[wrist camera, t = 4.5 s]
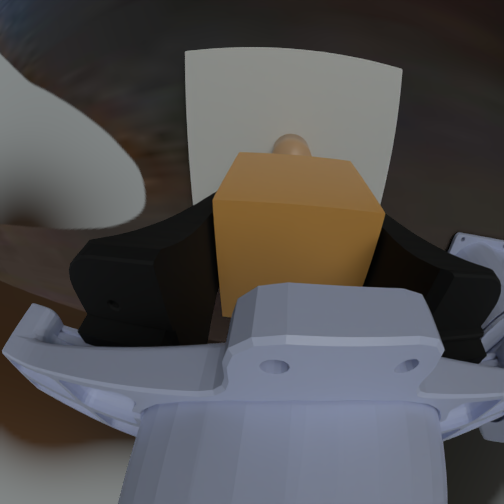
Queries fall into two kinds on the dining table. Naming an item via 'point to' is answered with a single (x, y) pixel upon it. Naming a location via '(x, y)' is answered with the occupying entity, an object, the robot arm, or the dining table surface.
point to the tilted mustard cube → (292, 224)
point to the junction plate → (288, 110)
